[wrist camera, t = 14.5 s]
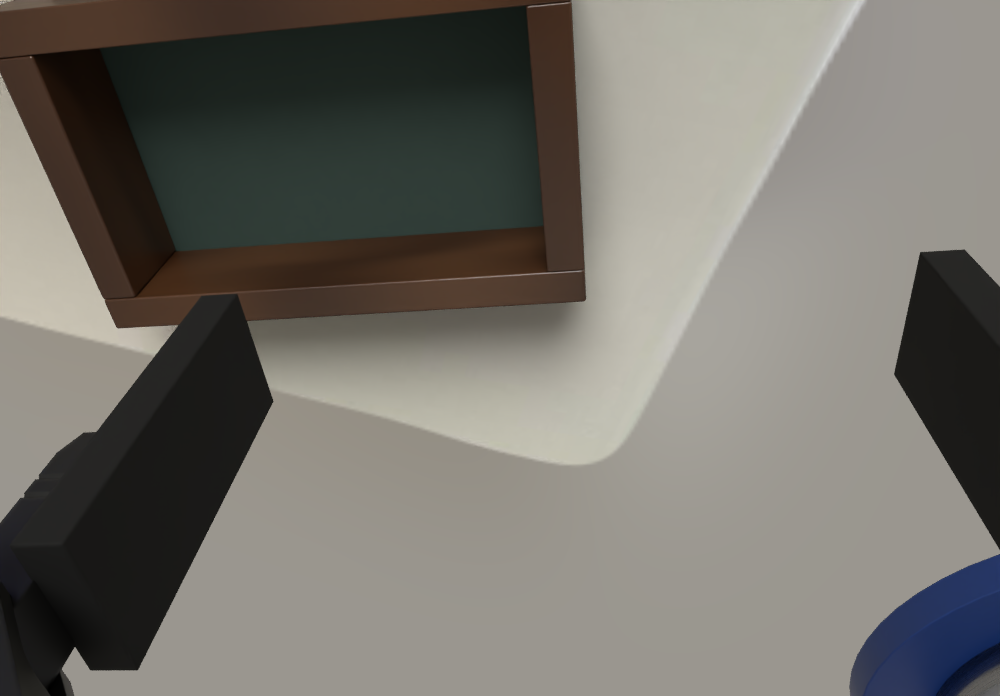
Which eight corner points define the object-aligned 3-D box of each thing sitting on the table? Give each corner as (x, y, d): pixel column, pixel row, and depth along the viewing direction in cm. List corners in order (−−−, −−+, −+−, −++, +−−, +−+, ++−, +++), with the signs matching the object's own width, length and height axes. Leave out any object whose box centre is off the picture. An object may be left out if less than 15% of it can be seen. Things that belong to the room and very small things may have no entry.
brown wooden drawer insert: (567, -68, 22) (568, -50, 20) (583, 252, 28) (586, 302, 25) (41, -11, 24) (-29, 14, 21) (158, 279, 30) (115, 329, 27)
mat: (579, 268, 29) (579, 273, 29) (175, 294, 31) (171, 299, 31) (559, -97, 22) (559, -95, 22) (44, -38, 24) (37, -35, 24)
